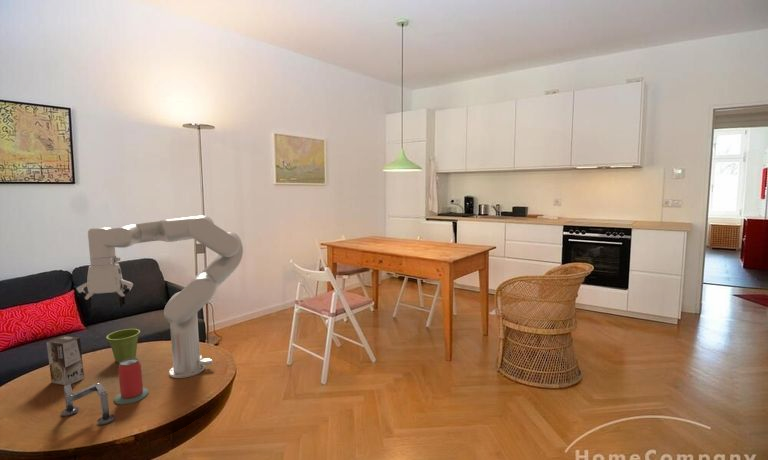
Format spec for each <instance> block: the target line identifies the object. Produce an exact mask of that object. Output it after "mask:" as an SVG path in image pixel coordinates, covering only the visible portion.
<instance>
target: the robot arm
mask: <svg viewBox="0 0 768 460" xmlns="http://www.w3.org/2000/svg"><path fill="white" fill-rule="evenodd" d="M87 238H88V250H89V259H90V261H89V264H90V265H89V266H88V270H87V278H86V279H87V282H85V283H83V284H81V285H79V286H77V287H76V290H77V292H78V293H79V295H80V296H81V297H83V298H84V299H85V300H86V307H87V308H88V310H89V311H92V310H94V309H95V299H94V294H95V295H96V294H107V293H108V294H109V293H117V294H118V295H119V308H124V306H126V304H127V299H126V298H127V297H126V295H127V294H128V293H129V292H130V291H131V289H132V288H133V286H134V283H133V282H131V281H128V280H125V279H123V275H122V269H121V266H120V263H118V262H121V257H118V256H117V255H116V248H122V249H124V248H129V247H132V246H133V245H135V244H136V245H137V244H142V243H148V242H149V243H151V242H157V241H158V242H165V243H175V242H178V241H179V242H180V241H188V240H195V241H196V242H198V243H199V244H201V245H203V246H205V247H206V248H208V249H209V250H211V251H212V252H214V253H216V254H217V255H218V256H217V257H215V258H214V259H213V261H212V262H210V263H209V264H208V265H207V266H206V267H205V268H204V269H203V270H201V272H199V273H198V274H196V275H195V276H194V277H193V278H192V279H191V280H190V282H189V283H188V284H187V285H186V286H185V287H184V288H183V289H181V291H178V292H175V293H174V294H173V295H172V296H171V298H169V300H168V301H167V303H166V305H165V307H164V309H163V315H164V318H165V320H166V321H167V322H168V323H169V325H170V330H169V331H170V341H171V343H170V344H171V354H172V355H171V356H172V367H171V368H170V369H169V371H168V374H169V376H170V377H171V378H174V379H183V378H190V377H193V376H196V375H198V374H201V373H202V372H203V371H204V370H205V369H206V366H210V365H213V359H211V358H210V357H207V358H203V357H202V356H203V355H202V354H201V352H200V351H201V350H200V337H199V324H198V318H199V317H198V313H199V311H200V310H201V309H203V307H205V305H207V304H208V303H209V302H210V301H211V300H212V299H213V298H214V296H215V295H216V292H217V289H218V288H219V287H220V286H221V285H222V284H223V283H224V282H225V281H226V280H227V279H228V278H229V277H230V276H231V275H232V274H233V273H234V272H235V271H236V270H237V268H238V267H239V265H240V264H241V261H242V258H243V253H244V247H243V241H242V239H241V238H240V236H239V234H237V233H236V232H233V231H228V232H227V231H226V230H224V229H222V228H220V226H217V225H216V224H214V221H213V220H212V218H211V217H209V216H207V215H195V216H187V217H179V218H170V219H163V220H159V221H149V222H142V223H141V222H140V223H133V224H127V225H126V224H125V225H122V226H119V227H113V228H112V227H109V226H101V227H100V226H99V227H92V228H89V229H88V231H87ZM124 286H127V287H126V288H125V289H124ZM85 288H87V291H85Z"/></svg>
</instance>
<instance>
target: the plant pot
mask: <svg viewBox="0 0 768 460" xmlns="http://www.w3.org/2000/svg"><path fill="white" fill-rule="evenodd" d="M140 333H141V330H140V329H137V328H126V329H121V330H116V331H113V332H111V333H108V334H107V335H106V337H105V338H106V339H107V340H108V343H109V344H110V347H111V348H110V349H111V351H112V354H113V357H114V359H115V362H116V363H119V364H120V362H122V361H123V360H126V359H130V358H137V350H138V348H137V347H138V341H139V340H138V339H139V336H140Z"/></svg>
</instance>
